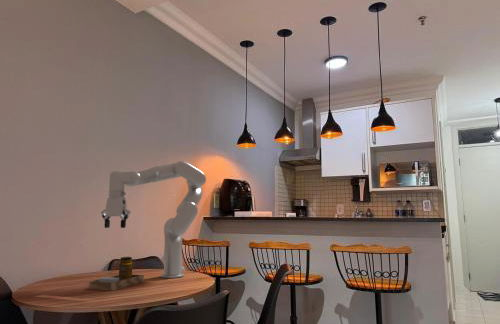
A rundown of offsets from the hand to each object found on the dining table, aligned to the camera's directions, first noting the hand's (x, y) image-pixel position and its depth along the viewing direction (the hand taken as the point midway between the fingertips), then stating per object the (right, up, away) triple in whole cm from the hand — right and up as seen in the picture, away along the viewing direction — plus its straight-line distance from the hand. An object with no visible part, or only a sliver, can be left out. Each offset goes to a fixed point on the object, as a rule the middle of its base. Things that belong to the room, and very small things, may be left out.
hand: (114, 227), depth 186 cm
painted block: (+6, -23, -24) cm, 34 cm away
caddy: (+8, -24, -19) cm, 32 cm away
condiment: (+9, -24, -14) cm, 30 cm away
